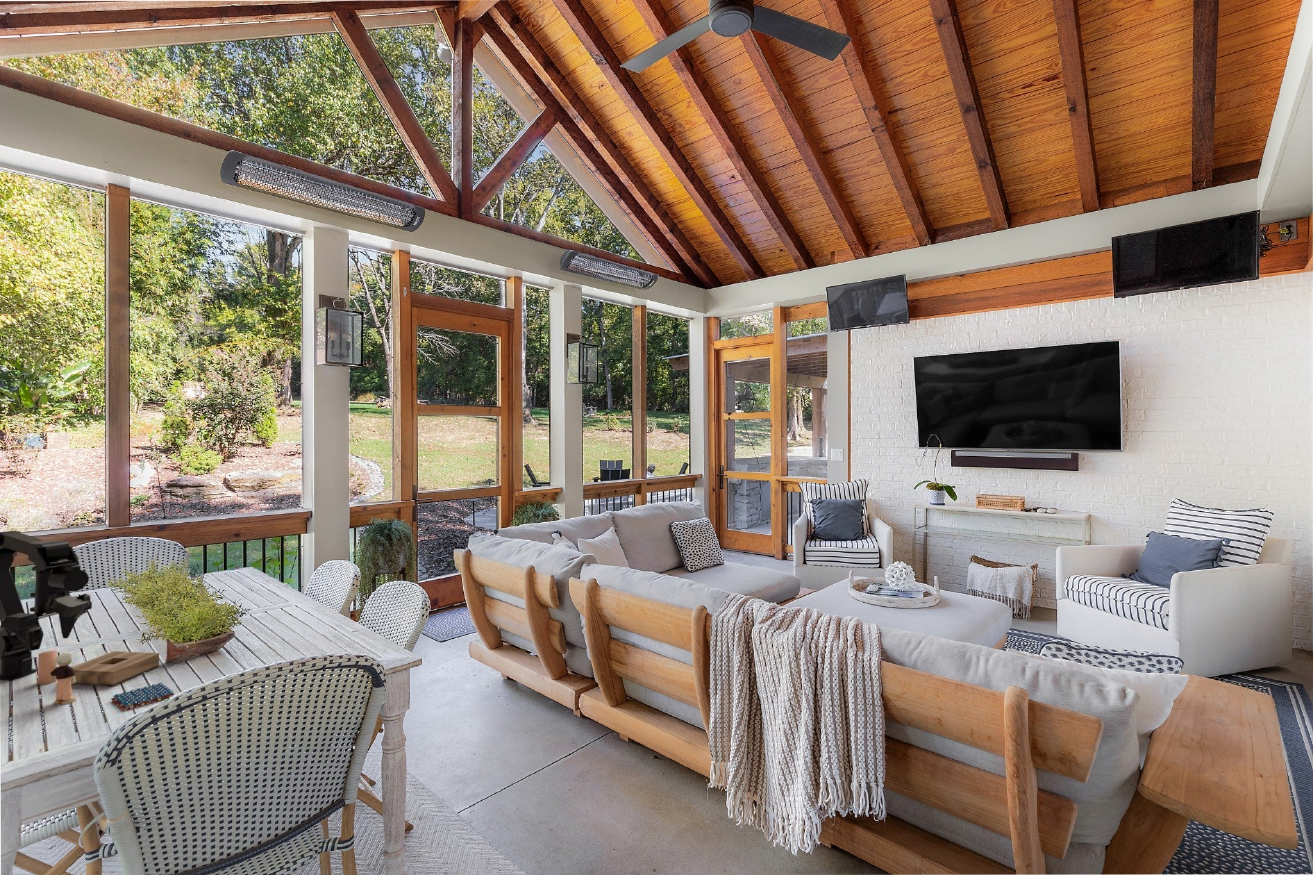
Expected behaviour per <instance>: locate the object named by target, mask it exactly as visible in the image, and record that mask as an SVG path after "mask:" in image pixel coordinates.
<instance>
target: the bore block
mask: <svg viewBox="0 0 1313 875" xmlns="http://www.w3.org/2000/svg"><path fill="white" fill-rule="evenodd" d="M71 667H72V668H73V671H74V673H75V680H76V683H74V684H71V686H72V685H73V686H89V687H90V686H93V687H111V688H112V687H116V686H118V685H120V684H123V683H125V682H127V681H129V680H132V679H134V678H137V677H138V676H141V675H144V674H145V673H148V672H151V671H152V670H155V669H157V668H159V667H160V653H159V652H141V651H139V652H137V651H115V650H113V651H110V652H108V653H105V654H103V655H100V656H97V657H95V658H92V659H90V660H87V661H85V662H81V663H79V664H76V665H73V666H71Z"/></svg>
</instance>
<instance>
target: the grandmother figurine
mask: <svg viewBox="0 0 1313 875" xmlns="http://www.w3.org/2000/svg"><path fill="white" fill-rule="evenodd" d="M72 656H73V653H72V652H70V651H64V652H61V653H60V654H59V655H57V658H56V659H55V661H54V663H57V668H55V669H54V670H53V671H52V672H51V673H50V674H51V675H50V678H49V680H53V679H54V678H55V676H56V681H57V682H56V686H55V687H56V689H55V700H54V701H53V705H56V704H57V705H58V704H60V705H68V704H73V703H74V702H76V701H77V699H76V697H73V688H72V685H71V684H74V683H76V680H75V673H74V671H73V668H72V667H73V666H70V664H72V662H73V658H72Z"/></svg>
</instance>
